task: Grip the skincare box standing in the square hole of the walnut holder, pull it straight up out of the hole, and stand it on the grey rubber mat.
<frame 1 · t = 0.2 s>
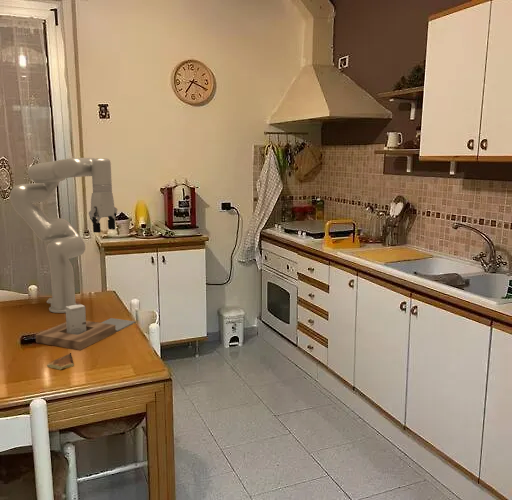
hand: (104, 230, 214), 36 cm above the table, tool pointing down, fingers open, 9 cm apart
grey mat: (114, 325, 209), on the table
skincare box: (77, 337, 195), resting in walnut holder
shard: (60, 365, 170), on the table
walnut holder: (77, 337, 195), on the table
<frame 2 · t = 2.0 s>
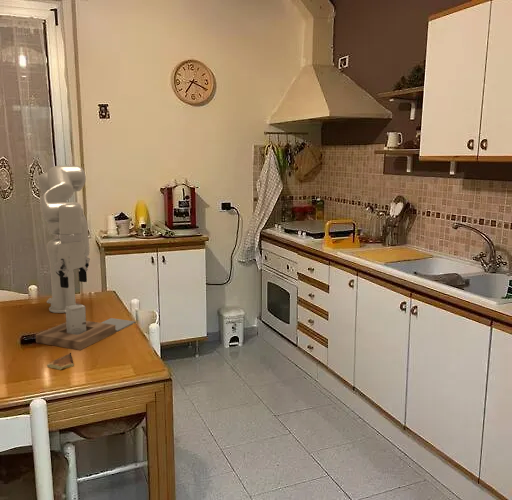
hand: (74, 284, 191), 20 cm above the table, tool pointing down, fingers open, 9 cm apart
nothing on the table moved.
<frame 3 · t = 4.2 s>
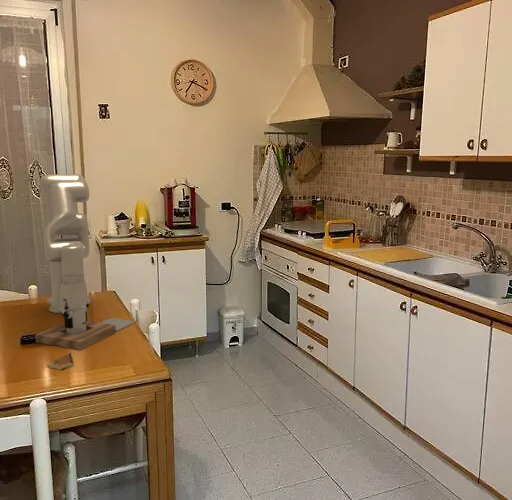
hand: (76, 324, 194), 5 cm above the table, tool pointing down, fingers closed on skincare box, 7 cm apart
skincare box: (77, 337, 195), resting in walnut holder, touching gripper
everything else where it was.
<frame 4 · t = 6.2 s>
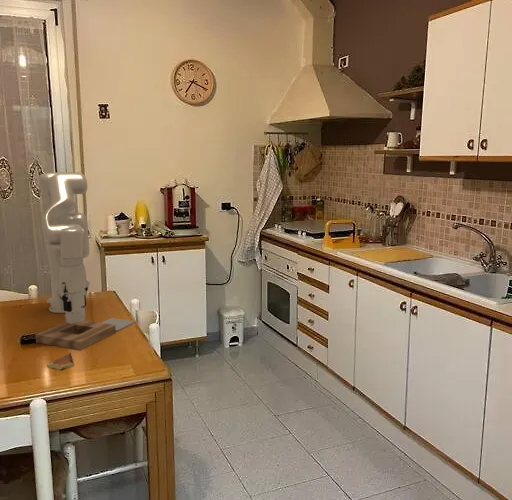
hand: (75, 308, 193), 11 cm above the table, tool pointing down, fingers closed on skincare box, 7 cm apart
skincare box: (75, 321, 194), point 6 cm above the table, touching gripper
everything else where it was.
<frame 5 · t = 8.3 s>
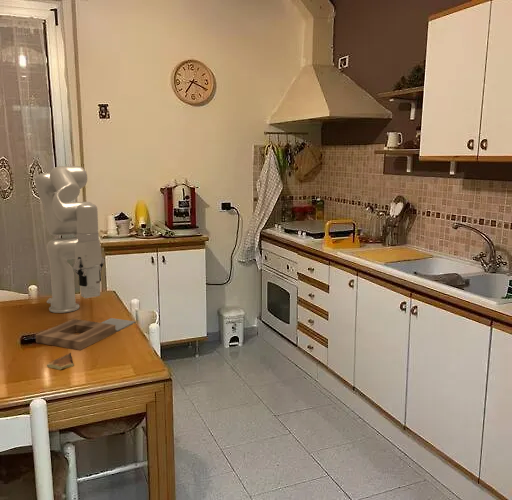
hand: (90, 283, 197), 19 cm above the table, tool pointing down, fingers closed on skincare box, 7 cm apart
skincare box: (91, 296, 198), point 14 cm above the table, touching gripper
everything else where it was.
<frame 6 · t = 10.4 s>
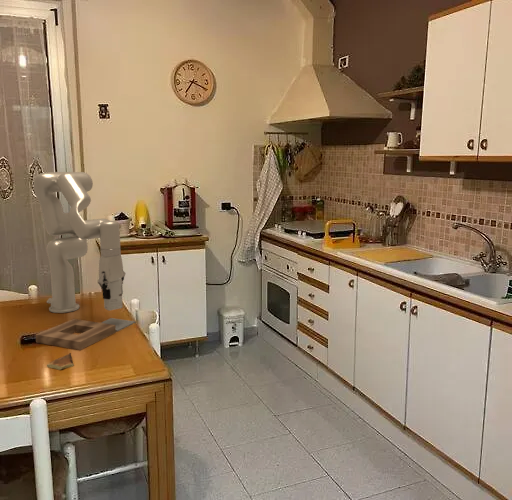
hand: (112, 296, 206), 12 cm above the table, tool pointing down, fingers closed on skincare box, 7 cm apart
skincare box: (113, 308, 207), point 7 cm above the table, touching gripper
everything else where it was.
when the fingers open (7 cm above the table, at t = 12.4 s): skincare box drops 1 cm, resting on grey mat.
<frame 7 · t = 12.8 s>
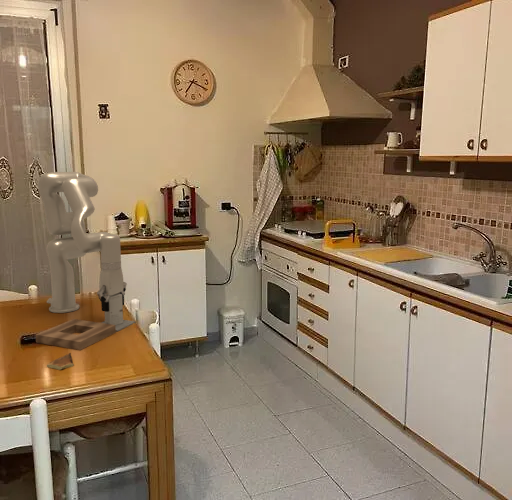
hand: (113, 307, 207), 7 cm above the table, tool pointing down, fingers open, 9 cm apart
skincare box: (114, 324, 209), resting on grey mat
everything else where it was.
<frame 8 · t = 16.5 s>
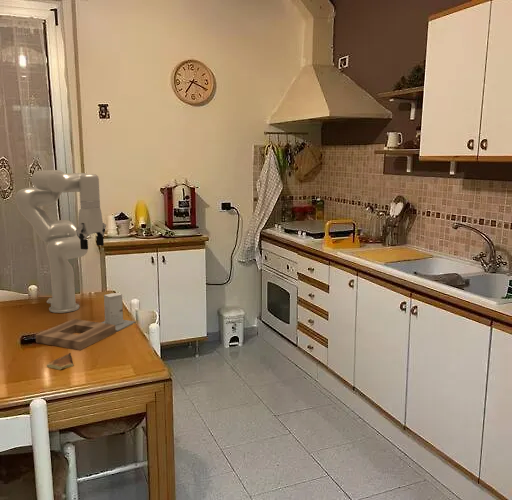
hand: (92, 247, 211), 30 cm above the table, tool pointing down, fingers open, 9 cm apart
nothing on the table moved.
at the end: skincare box inside the target area on the grey mat (0.4 cm from its centre), point 0.3 cm above the grey mat's base; skincare box tilted 0°; the gripper is holding nothing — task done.
